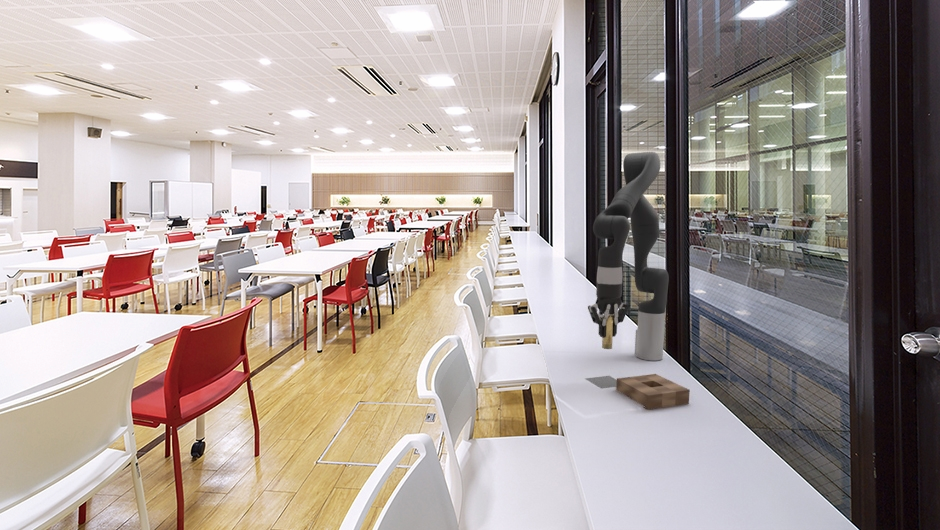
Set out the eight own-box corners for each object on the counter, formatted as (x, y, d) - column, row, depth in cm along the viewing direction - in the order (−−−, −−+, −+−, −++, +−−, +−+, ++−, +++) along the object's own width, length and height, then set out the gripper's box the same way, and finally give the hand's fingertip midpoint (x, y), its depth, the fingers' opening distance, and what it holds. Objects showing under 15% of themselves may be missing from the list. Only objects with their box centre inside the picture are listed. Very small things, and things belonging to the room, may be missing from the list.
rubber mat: (584, 379, 155) (584, 378, 155) (609, 377, 158) (609, 375, 158) (601, 389, 146) (601, 388, 146) (626, 386, 149) (626, 385, 149)
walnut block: (616, 391, 145) (616, 378, 145) (654, 386, 150) (655, 373, 149) (647, 409, 132) (648, 395, 131) (688, 403, 136) (689, 389, 136)
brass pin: (600, 346, 152) (601, 315, 151) (608, 346, 153) (609, 314, 152) (605, 349, 149) (606, 317, 148) (614, 348, 150) (615, 316, 149)
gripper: (621, 278, 154) (619, 331, 156) (582, 280, 150) (581, 335, 152) (636, 282, 147) (634, 337, 149) (596, 284, 143) (594, 341, 145)
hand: (607, 336), depth 150 cm, fingers closed on brass pin, 3 cm apart
